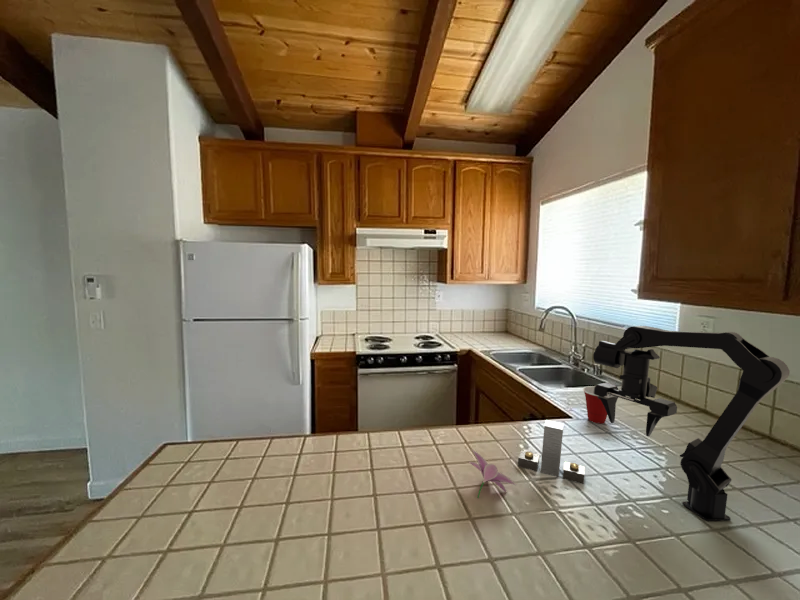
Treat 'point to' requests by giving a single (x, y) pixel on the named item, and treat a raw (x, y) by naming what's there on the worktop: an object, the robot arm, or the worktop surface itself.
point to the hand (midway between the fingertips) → (629, 429)
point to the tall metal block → (552, 448)
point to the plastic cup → (594, 406)
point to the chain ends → (569, 471)
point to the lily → (490, 473)
